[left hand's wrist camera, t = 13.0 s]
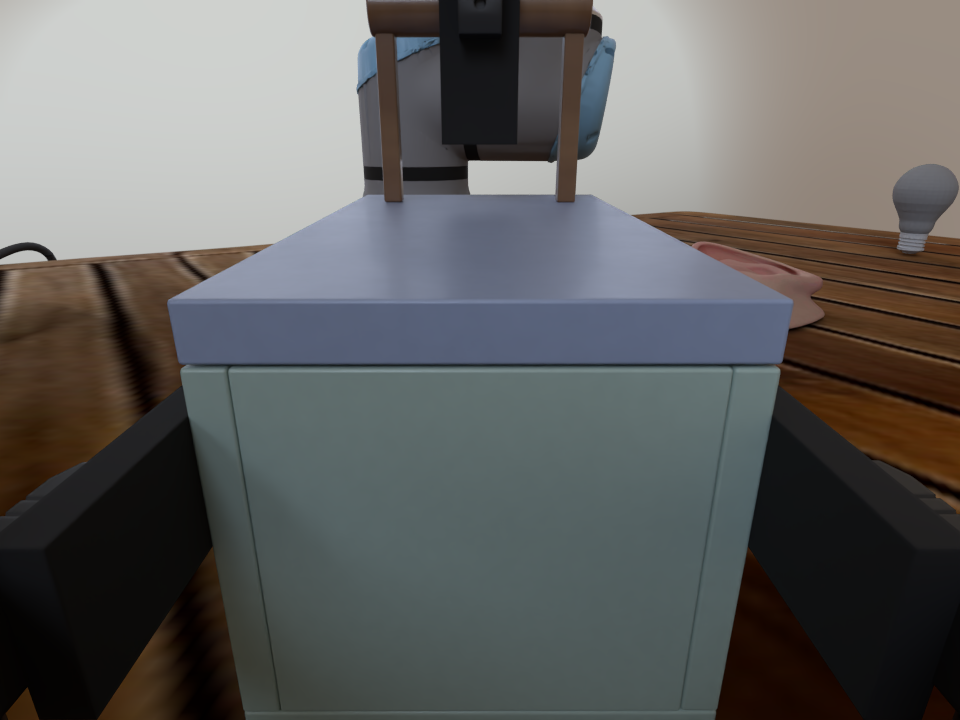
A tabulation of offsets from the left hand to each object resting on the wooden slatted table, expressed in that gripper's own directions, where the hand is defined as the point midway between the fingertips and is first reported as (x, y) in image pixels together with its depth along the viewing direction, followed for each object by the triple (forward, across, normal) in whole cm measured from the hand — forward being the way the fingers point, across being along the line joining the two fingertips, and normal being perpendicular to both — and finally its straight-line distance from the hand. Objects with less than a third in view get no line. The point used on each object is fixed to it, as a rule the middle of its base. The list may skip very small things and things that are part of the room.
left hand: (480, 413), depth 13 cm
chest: (+6, 0, -6) cm, 8 cm away
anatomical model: (+33, +21, -6) cm, 40 cm away
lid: (+6, 0, +2) cm, 6 cm away
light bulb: (+57, +51, -6) cm, 77 cm away
